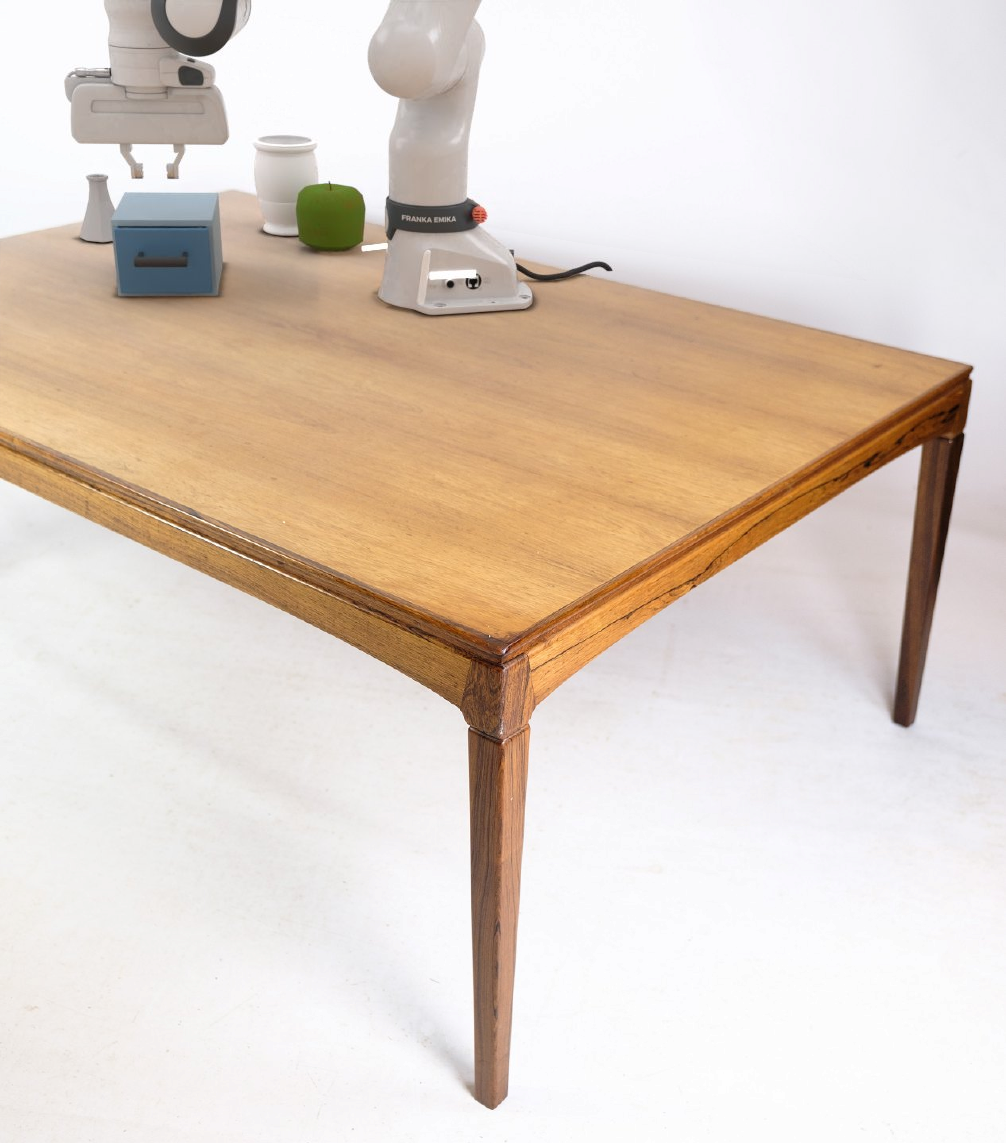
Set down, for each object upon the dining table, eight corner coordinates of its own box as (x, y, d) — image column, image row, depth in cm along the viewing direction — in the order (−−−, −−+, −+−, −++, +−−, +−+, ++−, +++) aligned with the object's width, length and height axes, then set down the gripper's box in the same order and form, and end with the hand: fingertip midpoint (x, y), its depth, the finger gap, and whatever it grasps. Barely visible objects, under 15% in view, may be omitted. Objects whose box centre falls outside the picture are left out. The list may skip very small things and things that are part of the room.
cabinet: (217, 296, 186) (212, 220, 180) (118, 296, 184) (110, 219, 178) (222, 263, 201) (218, 192, 196) (131, 263, 199) (124, 192, 194)
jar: (325, 226, 225) (323, 136, 218) (312, 240, 216) (309, 147, 209) (265, 222, 226) (261, 132, 219) (249, 236, 217) (244, 143, 210)
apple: (296, 257, 206) (293, 187, 201) (298, 240, 216) (296, 173, 210) (366, 257, 207) (365, 188, 202) (365, 241, 217) (364, 174, 212)
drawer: (210, 302, 179) (205, 238, 175) (116, 303, 177) (109, 238, 173) (217, 262, 198) (213, 203, 194) (133, 262, 196) (127, 203, 192)
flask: (136, 237, 213) (129, 175, 209) (102, 245, 208) (95, 182, 203) (105, 230, 217) (98, 169, 212) (71, 238, 211) (63, 176, 206)
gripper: (58, 70, 163) (72, 182, 169) (224, 73, 166) (230, 183, 172) (66, 64, 168) (78, 173, 175) (226, 67, 171) (232, 174, 178)
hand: (155, 178), depth 174 cm, fingers open, 3 cm apart
